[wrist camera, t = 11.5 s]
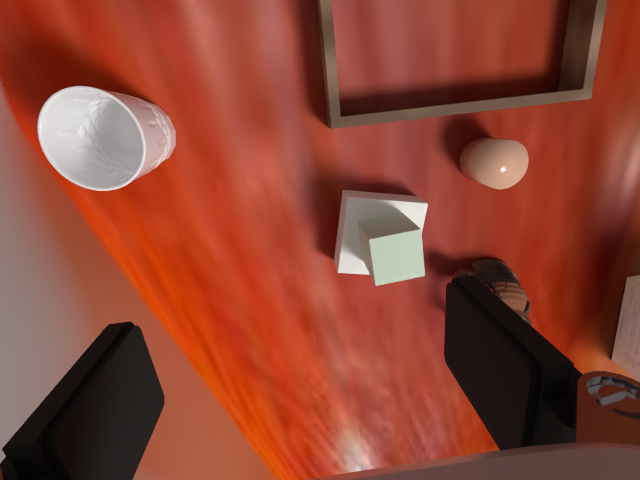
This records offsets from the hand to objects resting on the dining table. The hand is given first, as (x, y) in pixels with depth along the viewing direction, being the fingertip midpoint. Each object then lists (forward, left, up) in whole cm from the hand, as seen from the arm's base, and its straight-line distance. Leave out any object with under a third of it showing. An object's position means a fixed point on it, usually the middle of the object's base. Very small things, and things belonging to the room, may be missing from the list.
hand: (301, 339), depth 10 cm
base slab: (+8, +9, -31) cm, 33 cm away
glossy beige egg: (+1, +22, -30) cm, 38 cm away
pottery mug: (+18, +22, -31) cm, 42 cm away
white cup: (-6, -15, -31) cm, 35 cm away
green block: (+8, +9, -27) cm, 29 cm away
